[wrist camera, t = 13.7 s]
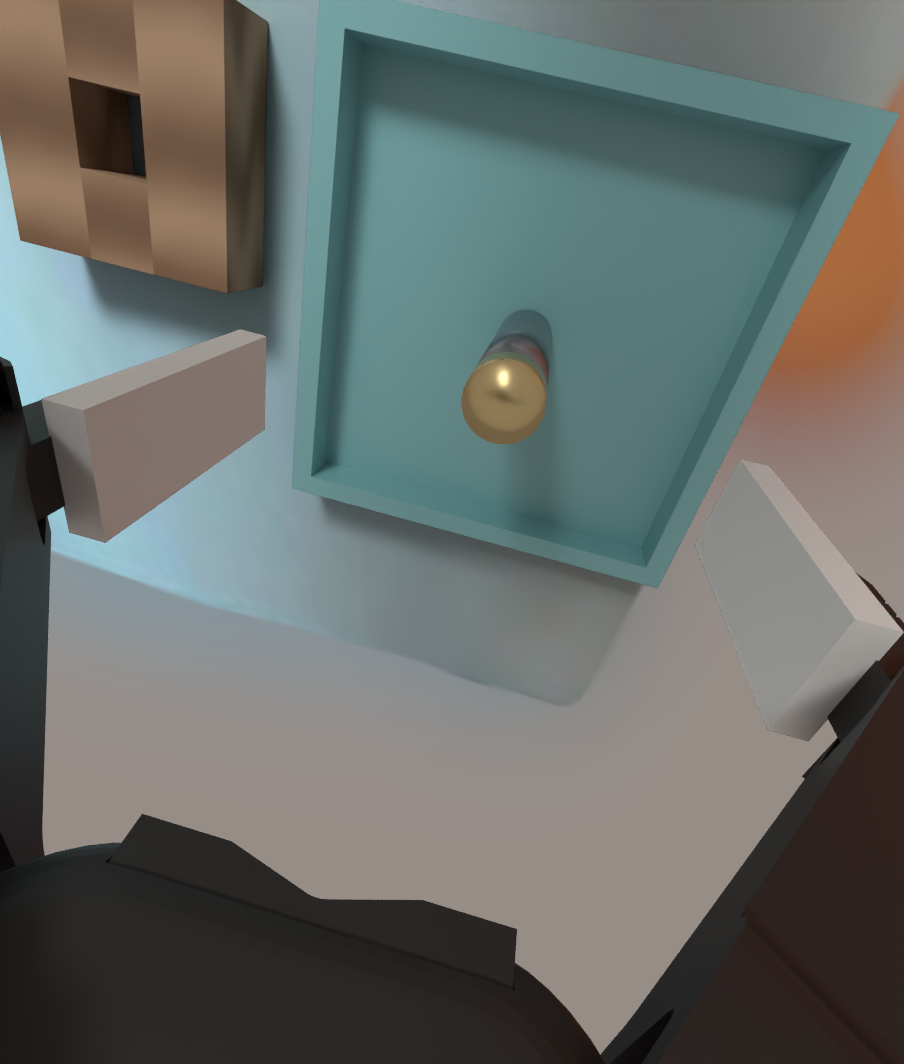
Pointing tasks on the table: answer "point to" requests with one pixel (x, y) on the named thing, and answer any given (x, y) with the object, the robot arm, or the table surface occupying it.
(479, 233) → the tray
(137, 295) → the table surface
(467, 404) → the pin
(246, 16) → the pin block
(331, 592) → the table surface
